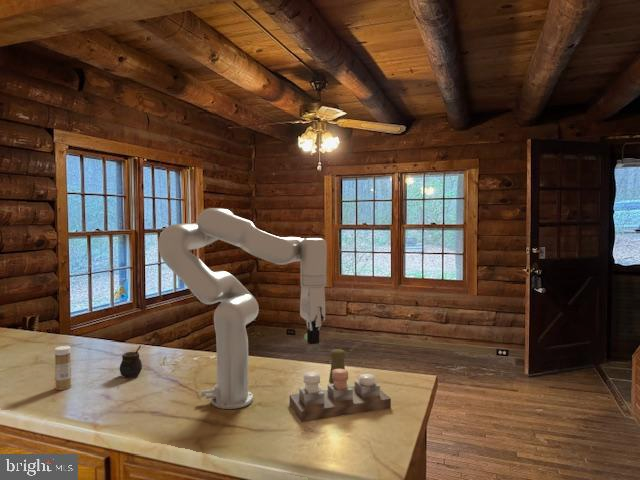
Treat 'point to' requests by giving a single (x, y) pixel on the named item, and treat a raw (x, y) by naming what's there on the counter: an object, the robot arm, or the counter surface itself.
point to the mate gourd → (130, 364)
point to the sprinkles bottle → (62, 367)
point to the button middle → (340, 378)
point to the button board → (338, 402)
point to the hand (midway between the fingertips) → (313, 343)
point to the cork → (337, 361)
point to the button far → (367, 379)
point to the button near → (311, 382)
